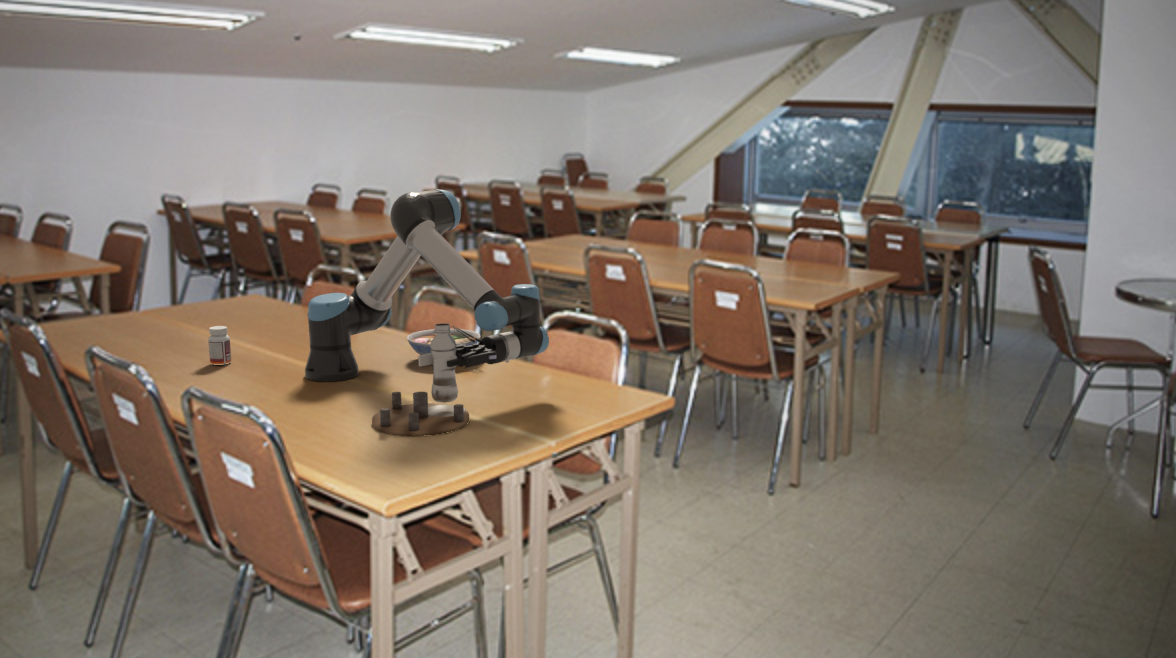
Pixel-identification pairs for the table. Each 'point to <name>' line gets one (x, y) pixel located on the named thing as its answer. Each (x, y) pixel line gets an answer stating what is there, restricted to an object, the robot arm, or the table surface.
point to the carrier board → (423, 423)
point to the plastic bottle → (444, 379)
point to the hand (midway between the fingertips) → (427, 363)
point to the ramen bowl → (424, 338)
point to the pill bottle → (219, 345)
